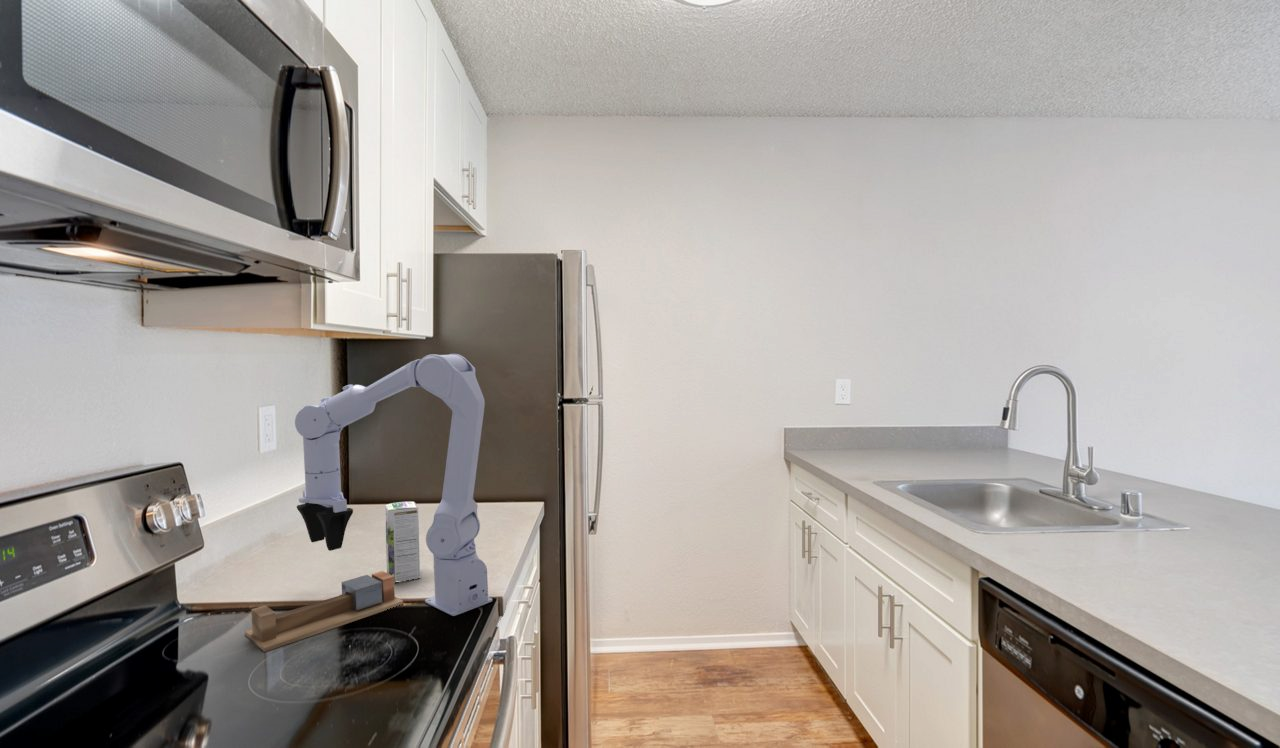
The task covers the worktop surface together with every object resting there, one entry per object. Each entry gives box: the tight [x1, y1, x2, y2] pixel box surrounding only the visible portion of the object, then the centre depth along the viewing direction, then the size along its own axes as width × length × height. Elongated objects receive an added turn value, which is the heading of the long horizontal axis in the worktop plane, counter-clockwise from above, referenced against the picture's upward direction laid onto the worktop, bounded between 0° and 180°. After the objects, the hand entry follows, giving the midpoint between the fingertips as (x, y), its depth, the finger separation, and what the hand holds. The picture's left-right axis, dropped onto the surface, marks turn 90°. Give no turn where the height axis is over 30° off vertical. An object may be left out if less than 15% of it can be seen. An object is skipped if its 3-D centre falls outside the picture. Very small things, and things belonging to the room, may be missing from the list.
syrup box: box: [384, 501, 421, 582], centre depth 122 cm, size 6×6×14 cm
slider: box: [341, 574, 382, 611], centre depth 108 cm, size 6×4×4 cm
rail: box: [244, 570, 404, 653], centre depth 104 cm, size 9×22×5 cm, turn 139°
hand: (326, 544), depth 112 cm, fingers open, 7 cm apart
